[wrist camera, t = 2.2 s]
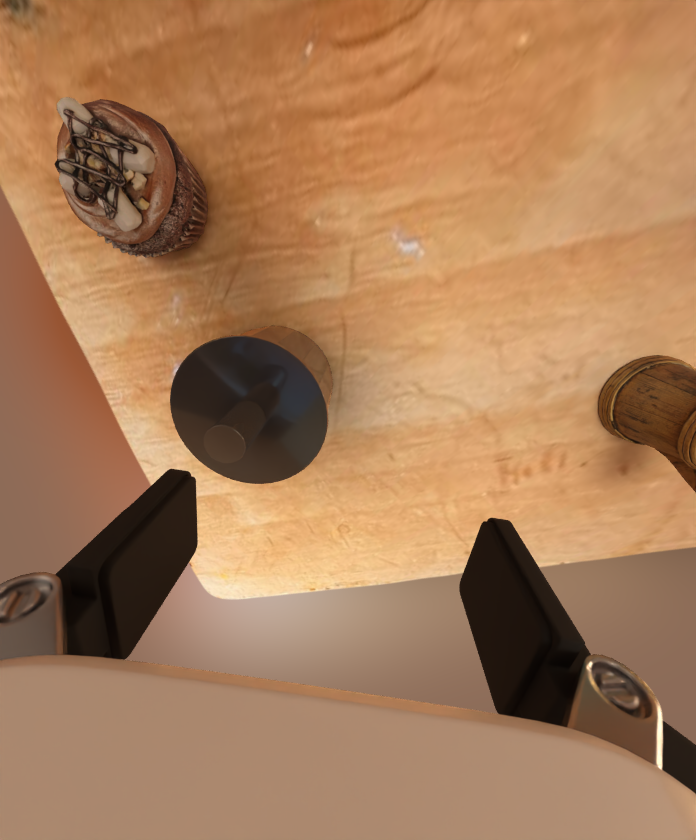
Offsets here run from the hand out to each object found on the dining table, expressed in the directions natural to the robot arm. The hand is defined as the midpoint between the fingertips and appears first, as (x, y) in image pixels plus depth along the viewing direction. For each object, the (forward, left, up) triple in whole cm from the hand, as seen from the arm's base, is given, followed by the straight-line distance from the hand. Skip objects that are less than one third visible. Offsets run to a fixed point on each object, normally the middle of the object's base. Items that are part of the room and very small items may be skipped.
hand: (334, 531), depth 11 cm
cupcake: (-22, +1, -26) cm, 34 cm away
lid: (-5, -7, -16) cm, 18 cm away
